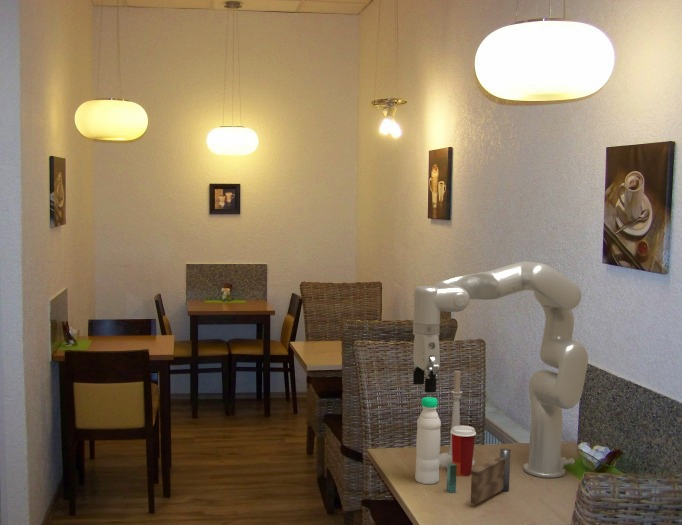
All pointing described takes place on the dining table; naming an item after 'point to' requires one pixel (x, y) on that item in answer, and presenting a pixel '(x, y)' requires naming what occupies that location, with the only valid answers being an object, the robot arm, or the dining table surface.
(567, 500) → the dining table surface
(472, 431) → the paper cup
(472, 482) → the gate
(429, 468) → the water bottle
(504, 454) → the gate posts
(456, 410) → the candlestick
